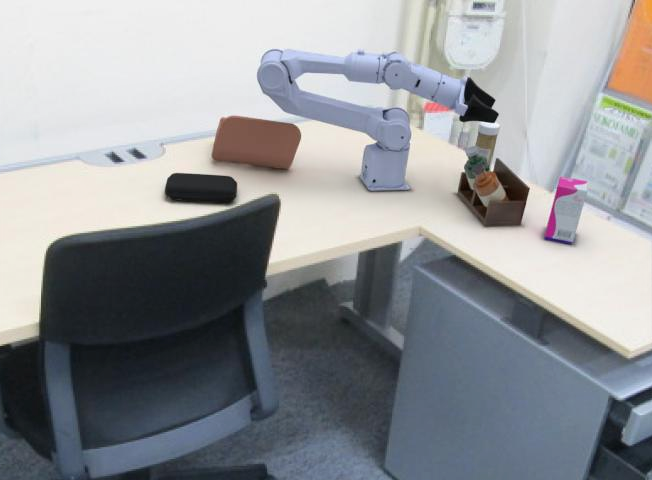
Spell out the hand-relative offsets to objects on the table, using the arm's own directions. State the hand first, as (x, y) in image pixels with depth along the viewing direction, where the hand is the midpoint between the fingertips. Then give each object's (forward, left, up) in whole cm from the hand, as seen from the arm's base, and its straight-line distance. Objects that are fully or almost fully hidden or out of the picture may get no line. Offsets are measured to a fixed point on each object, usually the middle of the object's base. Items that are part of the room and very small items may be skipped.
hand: (494, 111), depth 186 cm
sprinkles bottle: (+2, +6, -18) cm, 19 cm away
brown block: (-46, +21, -18) cm, 54 cm away
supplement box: (+9, -22, -18) cm, 30 cm away
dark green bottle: (-1, -5, -16) cm, 16 cm away
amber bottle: (-1, -13, -15) cm, 20 cm away
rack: (-1, -9, -18) cm, 20 cm away
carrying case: (-61, +3, -18) cm, 64 cm away
